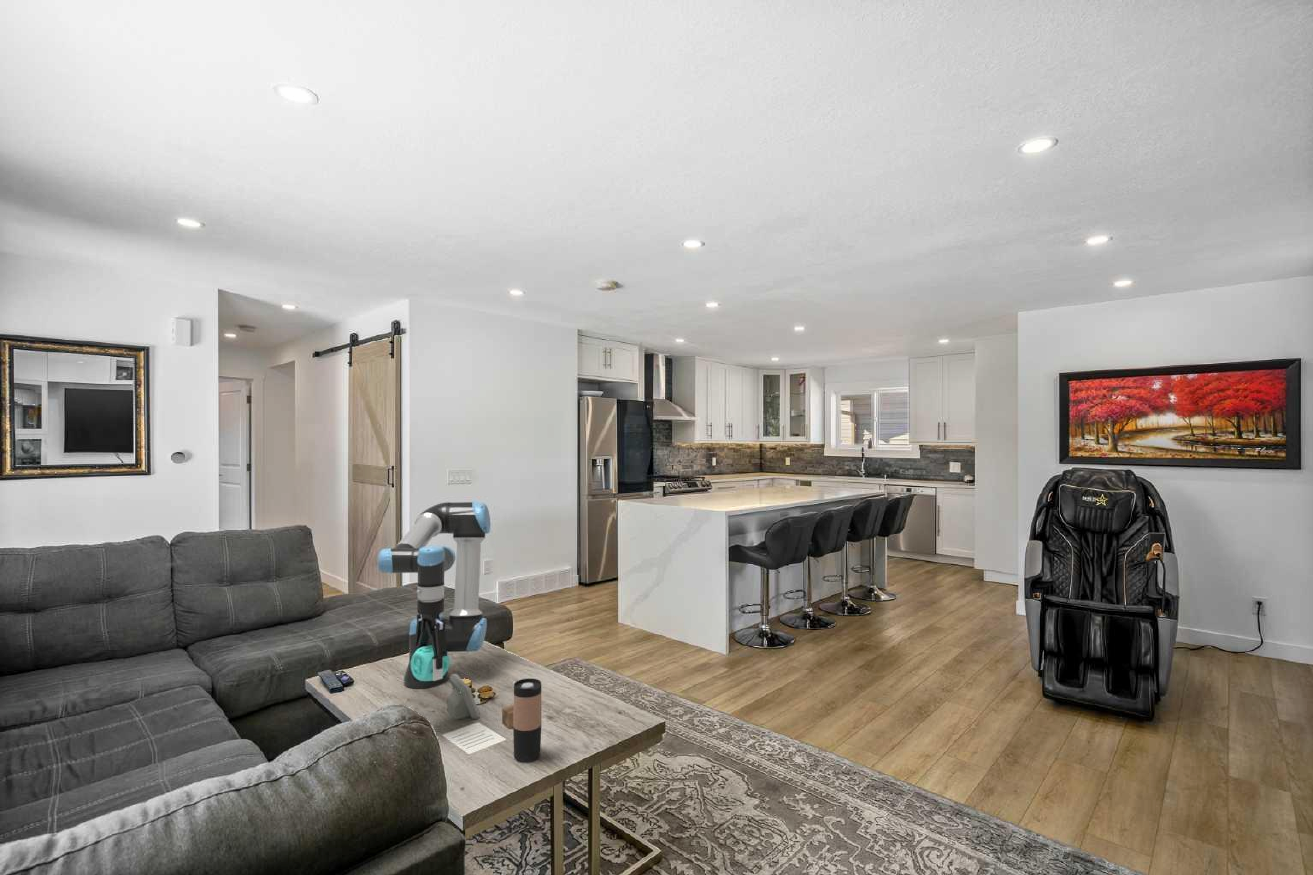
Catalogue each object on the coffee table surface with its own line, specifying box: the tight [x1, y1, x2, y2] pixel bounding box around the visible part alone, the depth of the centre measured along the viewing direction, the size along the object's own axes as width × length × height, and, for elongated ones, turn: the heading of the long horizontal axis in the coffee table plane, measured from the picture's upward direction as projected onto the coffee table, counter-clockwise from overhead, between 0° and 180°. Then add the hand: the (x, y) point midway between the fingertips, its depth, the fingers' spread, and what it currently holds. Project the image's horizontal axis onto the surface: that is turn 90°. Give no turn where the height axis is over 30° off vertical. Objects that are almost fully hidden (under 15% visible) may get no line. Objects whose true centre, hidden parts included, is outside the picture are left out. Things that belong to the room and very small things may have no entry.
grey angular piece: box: [446, 673, 480, 721], centre depth 197 cm, size 16×9×11 cm, turn 23°
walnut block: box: [501, 704, 514, 730], centre depth 189 cm, size 5×5×5 cm
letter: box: [441, 722, 507, 755], centre depth 180 cm, size 16×12×1 cm
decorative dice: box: [411, 645, 451, 681], centre depth 183 cm, size 8×8×8 cm
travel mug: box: [512, 678, 542, 763], centre depth 170 cm, size 8×8×20 cm
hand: (430, 674), depth 183 cm, fingers closed on decorative dice, 9 cm apart
